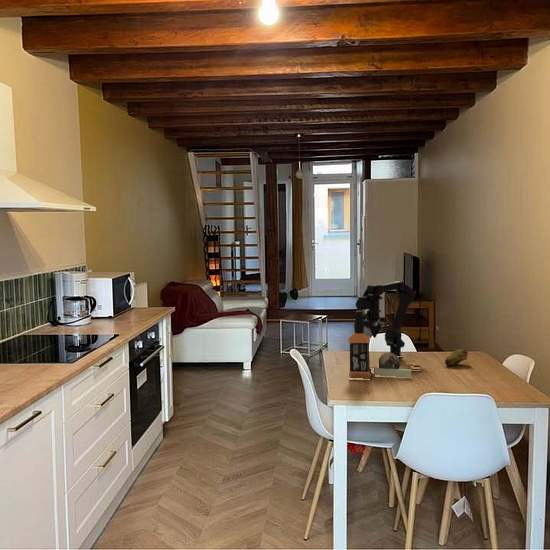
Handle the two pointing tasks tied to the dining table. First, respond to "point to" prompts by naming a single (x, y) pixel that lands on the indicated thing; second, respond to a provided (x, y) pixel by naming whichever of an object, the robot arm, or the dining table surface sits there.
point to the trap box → (416, 366)
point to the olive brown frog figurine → (456, 357)
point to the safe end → (393, 372)
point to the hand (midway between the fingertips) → (374, 337)
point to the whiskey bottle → (359, 350)
